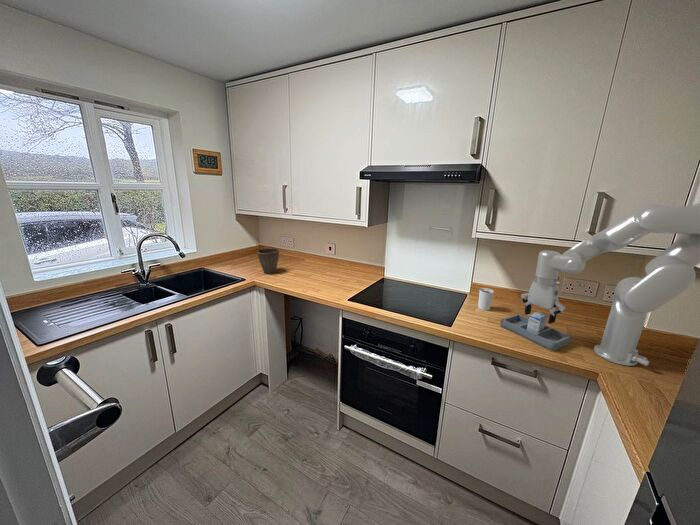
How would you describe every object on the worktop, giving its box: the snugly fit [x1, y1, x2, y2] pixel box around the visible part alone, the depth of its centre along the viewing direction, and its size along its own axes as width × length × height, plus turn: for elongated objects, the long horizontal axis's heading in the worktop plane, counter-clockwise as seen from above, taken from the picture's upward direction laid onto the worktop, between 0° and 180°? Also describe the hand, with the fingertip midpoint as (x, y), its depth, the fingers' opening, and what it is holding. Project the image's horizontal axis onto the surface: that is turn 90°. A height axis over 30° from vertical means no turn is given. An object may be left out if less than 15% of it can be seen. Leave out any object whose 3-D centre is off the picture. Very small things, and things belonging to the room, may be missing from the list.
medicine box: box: [527, 310, 548, 334], centre depth 123 cm, size 8×4×9 cm, turn 128°
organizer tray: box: [499, 313, 573, 352], centre depth 124 cm, size 23×13×4 cm, turn 28°
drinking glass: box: [477, 287, 494, 311], centre depth 148 cm, size 7×7×10 cm
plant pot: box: [256, 247, 280, 275], centre depth 201 cm, size 15×15×16 cm
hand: (538, 318), depth 122 cm, fingers open, 9 cm apart
